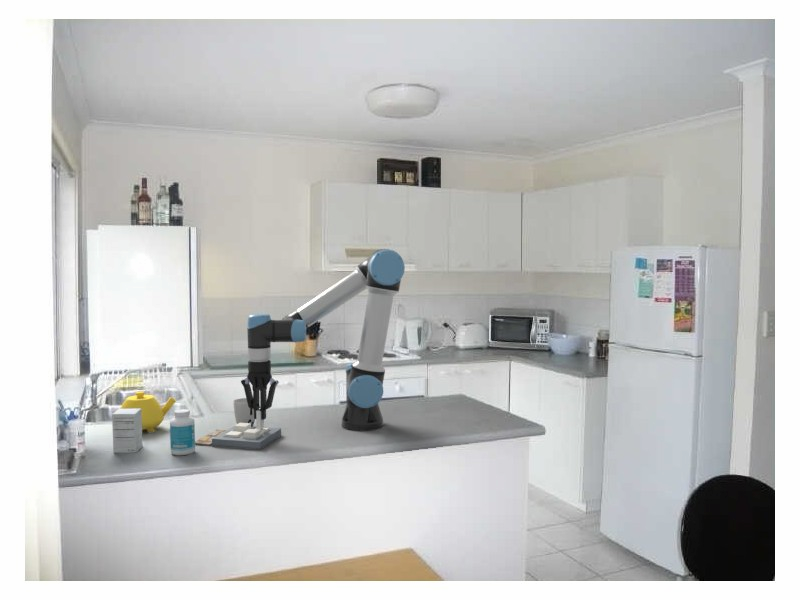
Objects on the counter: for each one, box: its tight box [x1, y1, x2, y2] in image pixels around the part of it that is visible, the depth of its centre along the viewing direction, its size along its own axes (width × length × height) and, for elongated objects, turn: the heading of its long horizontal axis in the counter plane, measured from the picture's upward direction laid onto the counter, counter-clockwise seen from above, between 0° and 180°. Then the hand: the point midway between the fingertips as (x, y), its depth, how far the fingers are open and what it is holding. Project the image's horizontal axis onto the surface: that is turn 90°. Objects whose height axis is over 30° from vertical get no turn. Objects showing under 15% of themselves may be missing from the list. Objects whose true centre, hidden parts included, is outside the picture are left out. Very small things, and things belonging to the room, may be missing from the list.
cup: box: [233, 397, 256, 427], centre depth 249 cm, size 8×8×10 cm
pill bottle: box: [169, 408, 196, 456], centre depth 219 cm, size 8×7×14 cm
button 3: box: [243, 429, 261, 439], centre depth 229 cm, size 4×4×3 cm
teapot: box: [119, 390, 177, 433], centre depth 247 cm, size 20×16×14 cm
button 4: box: [261, 427, 270, 434], centre depth 236 cm, size 4×4×3 cm
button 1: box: [225, 431, 242, 438], centre depth 231 cm, size 4×4×3 cm
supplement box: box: [111, 408, 143, 454], centre depth 223 cm, size 7×7×13 cm
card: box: [195, 429, 228, 447], centre depth 236 cm, size 6×17×1 cm, turn 167°
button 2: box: [233, 423, 251, 433], centre depth 237 cm, size 4×4×3 cm
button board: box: [211, 426, 282, 451], centre depth 233 cm, size 17×17×2 cm
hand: (260, 428), depth 235 cm, fingers closed
